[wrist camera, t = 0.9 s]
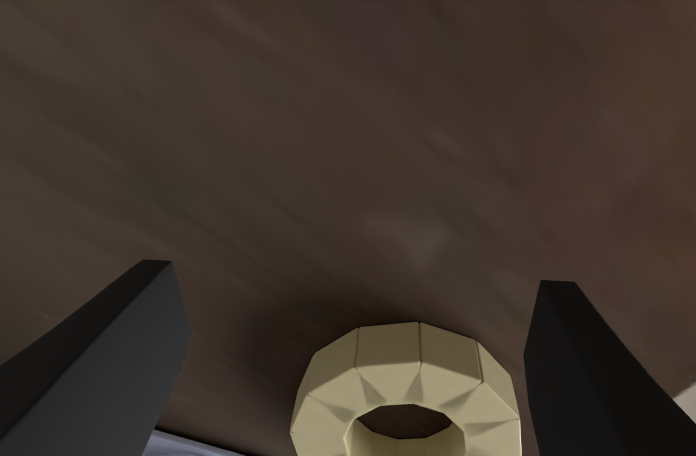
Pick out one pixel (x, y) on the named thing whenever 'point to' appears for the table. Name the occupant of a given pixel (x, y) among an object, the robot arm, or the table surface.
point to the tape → (405, 394)
